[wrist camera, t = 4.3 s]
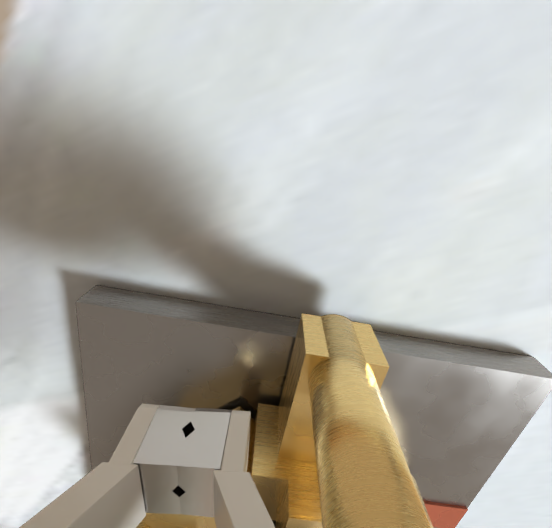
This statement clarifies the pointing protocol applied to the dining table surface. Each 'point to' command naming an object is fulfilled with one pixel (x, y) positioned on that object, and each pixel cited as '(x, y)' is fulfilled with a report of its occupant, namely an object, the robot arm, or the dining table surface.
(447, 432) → the cap plate
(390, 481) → the gold plate
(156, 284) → the dining table surface
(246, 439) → the robot arm
